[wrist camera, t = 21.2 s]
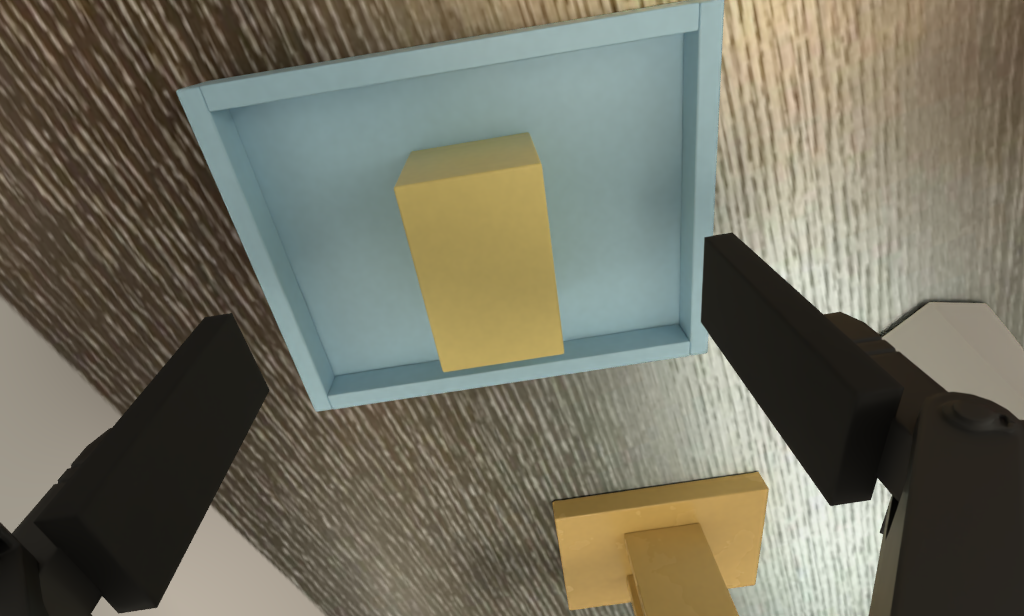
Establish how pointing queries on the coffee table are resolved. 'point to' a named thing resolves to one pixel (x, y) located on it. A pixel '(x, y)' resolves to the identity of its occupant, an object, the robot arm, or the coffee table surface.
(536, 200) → the butter
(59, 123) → the coffee table surface
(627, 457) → the coffee table surface
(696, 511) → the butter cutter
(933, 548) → the robot arm
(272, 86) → the butter dish
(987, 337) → the flask
